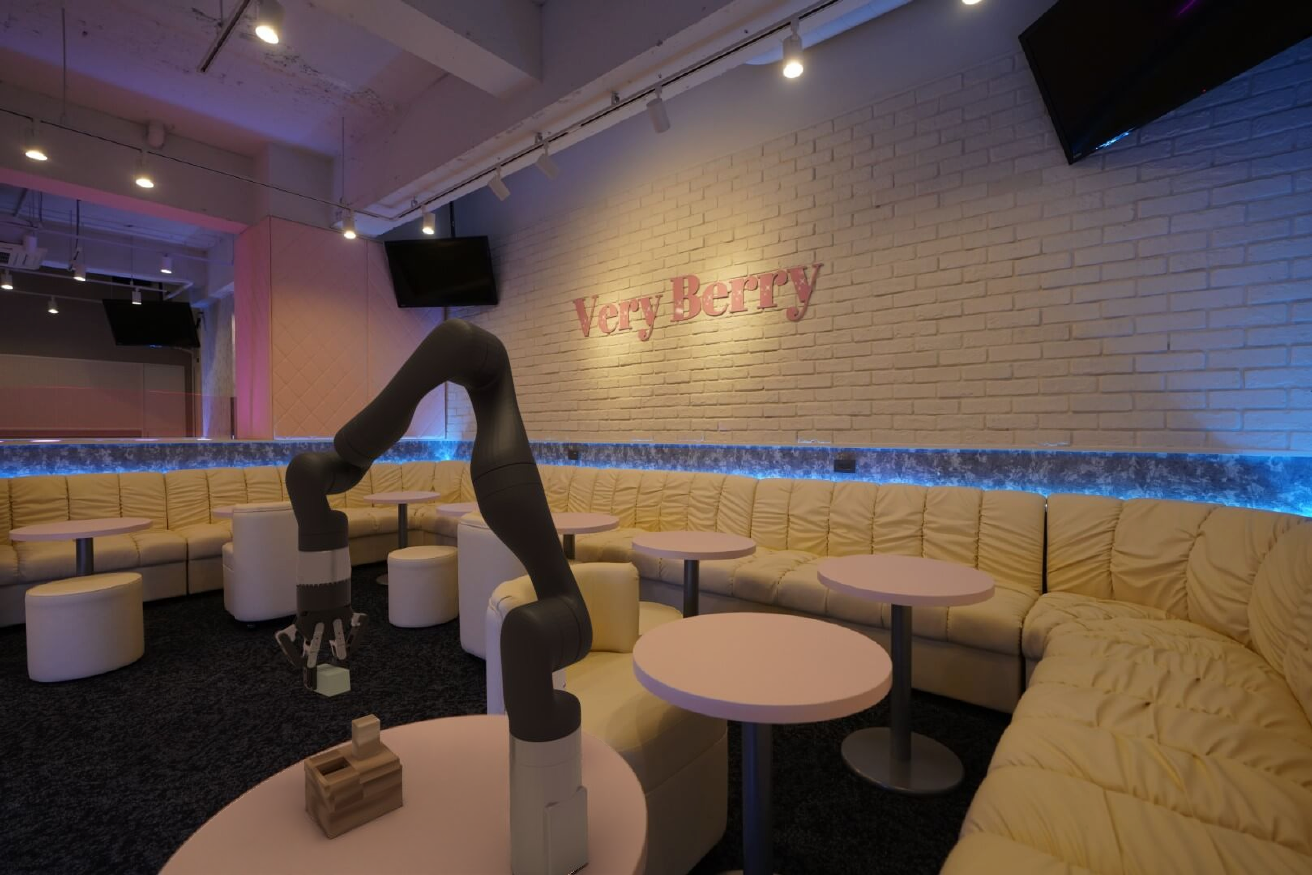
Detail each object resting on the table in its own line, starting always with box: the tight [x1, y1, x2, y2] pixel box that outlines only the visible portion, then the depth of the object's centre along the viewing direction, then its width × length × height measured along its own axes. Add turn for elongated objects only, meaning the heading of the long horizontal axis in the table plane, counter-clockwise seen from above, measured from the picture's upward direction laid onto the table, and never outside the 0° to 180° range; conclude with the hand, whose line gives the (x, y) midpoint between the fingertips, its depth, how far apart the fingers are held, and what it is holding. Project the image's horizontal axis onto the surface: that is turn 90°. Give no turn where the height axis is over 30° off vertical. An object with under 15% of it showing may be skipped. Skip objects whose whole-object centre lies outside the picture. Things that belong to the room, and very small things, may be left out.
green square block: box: [314, 663, 351, 697], centre depth 92 cm, size 3×3×10 cm
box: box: [304, 763, 404, 840], centre depth 87 cm, size 10×10×6 cm
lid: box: [303, 713, 401, 798], centre depth 86 cm, size 10×10×6 cm
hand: (324, 685), depth 92 cm, fingers closed on green square block, 3 cm apart
